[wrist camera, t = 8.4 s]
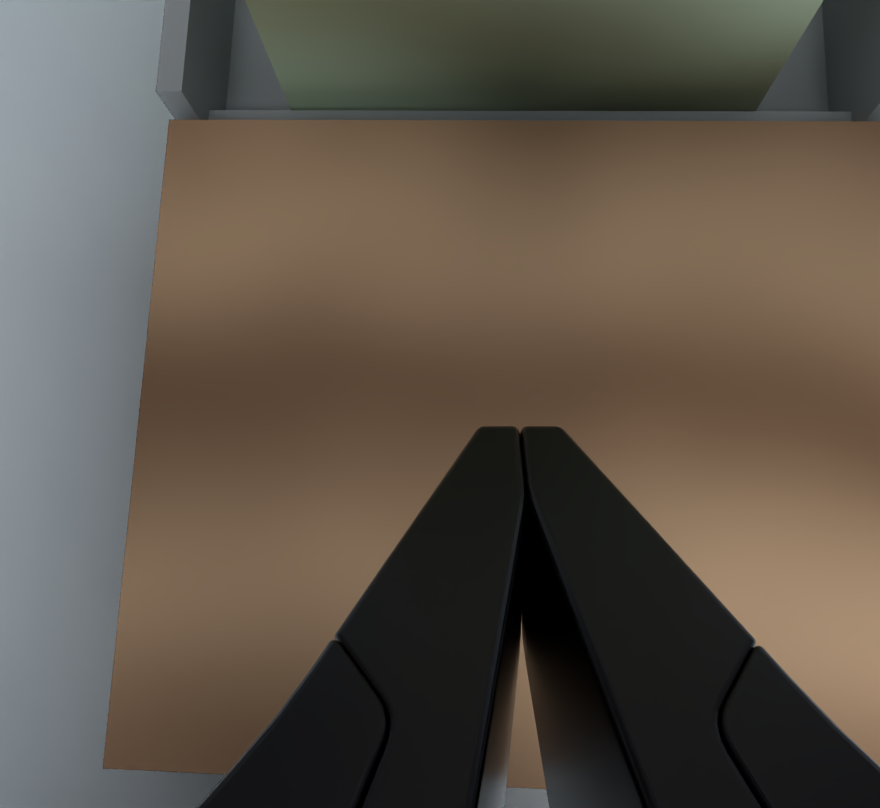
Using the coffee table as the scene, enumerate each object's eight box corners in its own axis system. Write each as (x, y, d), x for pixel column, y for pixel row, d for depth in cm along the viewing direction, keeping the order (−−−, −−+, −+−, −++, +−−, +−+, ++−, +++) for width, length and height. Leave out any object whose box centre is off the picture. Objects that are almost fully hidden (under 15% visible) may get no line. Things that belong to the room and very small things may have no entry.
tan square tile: (880, 769, 16) (956, 808, 13) (159, 737, 16) (102, 768, 14) (841, 182, 18) (899, 121, 15) (210, 178, 19) (169, 119, 16)
